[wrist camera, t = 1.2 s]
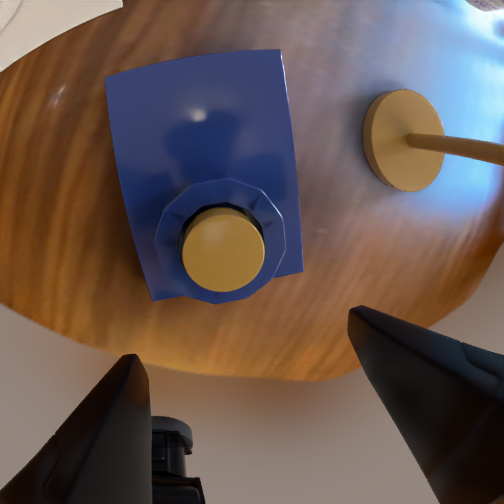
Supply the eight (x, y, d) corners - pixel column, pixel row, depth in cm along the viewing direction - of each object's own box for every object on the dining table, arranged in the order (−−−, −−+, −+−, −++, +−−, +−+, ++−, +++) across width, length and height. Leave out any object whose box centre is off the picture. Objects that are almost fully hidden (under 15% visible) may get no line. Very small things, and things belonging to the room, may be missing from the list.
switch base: (293, 258, 21) (314, 284, 17) (155, 285, 19) (148, 317, 16) (271, 58, 15) (290, 39, 11) (114, 84, 14) (93, 70, 10)
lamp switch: (261, 269, 16) (269, 283, 15) (192, 283, 16) (192, 299, 14) (252, 200, 15) (260, 208, 13) (176, 214, 14) (174, 223, 13)
